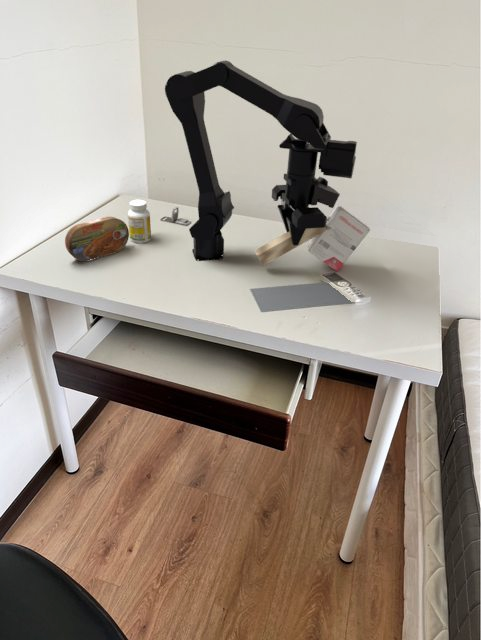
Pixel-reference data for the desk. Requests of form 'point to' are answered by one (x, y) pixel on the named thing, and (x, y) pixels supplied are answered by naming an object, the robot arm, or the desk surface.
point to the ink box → (338, 238)
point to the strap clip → (176, 218)
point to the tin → (96, 238)
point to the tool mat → (297, 296)
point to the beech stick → (284, 245)
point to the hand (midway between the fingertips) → (293, 242)
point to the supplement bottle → (139, 222)
